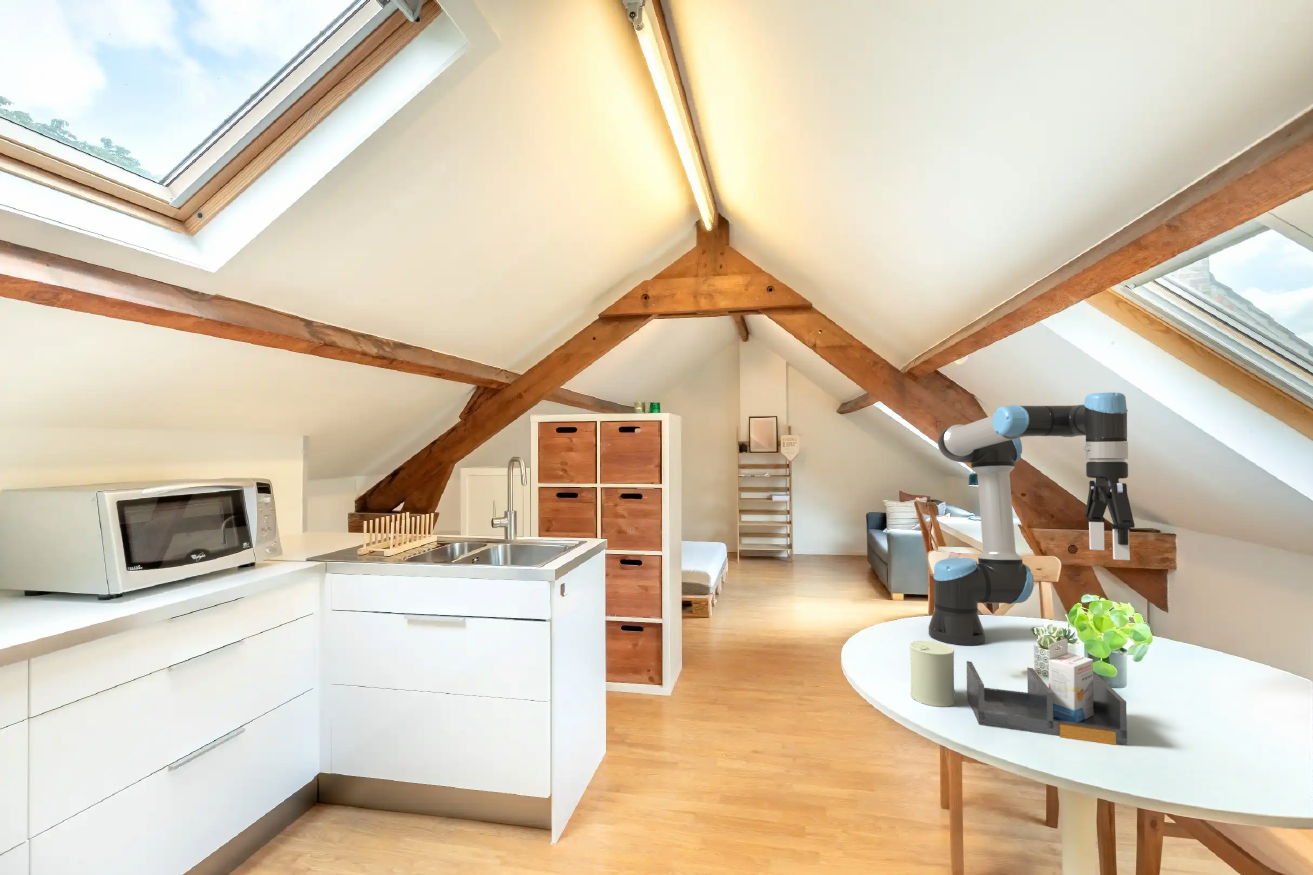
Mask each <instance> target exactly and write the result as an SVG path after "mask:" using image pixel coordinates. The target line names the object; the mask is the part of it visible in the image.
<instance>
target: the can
mask: <svg viewBox="0 0 1313 875" xmlns="http://www.w3.org/2000/svg"><path fill="white" fill-rule="evenodd" d="M909 646H910V647H909V648H910V693H909V694H910V697H911V698H912V699H913V700H914V699H915V700H914V701H915V702H918V703H920V702H921V703H920V704H923V705H926V706H930V707H931V706H932V707H937V708H938V707H939V708H945V707H951V706H953V705H955V703H956V698H955V669H954V668H955V665H954V664H955V649H954V648H953V647H952V646H950V645H948V644H945V643H942V642H937V641H930V640H916V641H912V642H911V643H910V644H909Z"/></svg>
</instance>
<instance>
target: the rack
mask: <svg viewBox="0 0 1313 875" xmlns="http://www.w3.org/2000/svg"><path fill="white" fill-rule="evenodd" d="M1026 668H1027V673H1026V674H1027V679H1026V680H1027V692H1026V691H1025V692H1024V691H1017V690H1016V691H1015V690H1008V689H1001V688H1000V689H999V688H992V687H985V684H984V682H983V680H982V678H981V677H980V674H979V673H978V671H977V670H976V669H977V668H976V667H975V665H974V663H973V662H972V661H969V660H966V698H967V700H968V702H969V706H971V710H972V712H973V714H974V717H975V719H976V720H977V723H978V725H980V726H986V727H993V728H1000V729H1007V730H1016V731H1022V732H1023V731H1024V732H1030V733H1035V734H1037V733H1038V734H1043V735H1044V734H1045V735H1051V736H1059V737H1060V738H1065V739H1071V740H1078V741H1083V742H1084V741H1085V742H1093V743H1098V744H1099V743H1100V744H1106V745H1112V746H1113V745H1115V746H1116V745H1123V746H1128V725H1127V723H1128V721H1127V700H1125V699H1124V698H1123V697H1122V696H1121V695H1120V694H1119V693H1118V692H1117V691H1116V690H1114V689H1113V688H1112V687H1111V686H1110V685H1109V684H1108V683H1107V682H1106V681H1105V680H1103V679H1102V677H1100V676H1099V674H1093V710H1094V715H1093V716H1091V717H1089V718H1087V719H1085V720H1083V721H1081V722H1071V721H1064V720H1060V719H1057V718H1055V717H1053V693H1052V692H1051V690H1050V689H1049V686H1048V685H1047V684H1046V683H1045V681H1044V680H1043V679H1042V678H1041V677H1040V676H1039V674H1038V673H1037V672H1036V670H1034V668H1033V667H1026Z"/></svg>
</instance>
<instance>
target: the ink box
mask: <svg viewBox="0 0 1313 875" xmlns="http://www.w3.org/2000/svg"><path fill="white" fill-rule="evenodd" d="M1068 640H1069V639H1068V638H1064V639H1061V640H1057V641H1055V642H1052V643H1050V644H1049V646H1048V688H1049V689H1050V690H1051V692H1052V693H1053V717H1055V718H1057V719H1060V720H1064V721H1071V722H1081V721H1083V720H1085V719H1087V718H1089V717H1091V716H1093V715H1094V710H1093V675H1094V659H1093V658H1089V657H1086V656H1085V657H1084V656H1081V655H1077V654H1074V653H1070V652H1068V651H1069V649H1068V647H1069V646H1068V645H1069V644H1068V643H1069V641H1068ZM1058 647H1060V649H1057V648H1058ZM1056 649H1057V650H1056Z"/></svg>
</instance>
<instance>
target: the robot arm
mask: <svg viewBox="0 0 1313 875" xmlns="http://www.w3.org/2000/svg"><path fill="white" fill-rule="evenodd" d="M1126 399H1127V398H1126V396H1125V394H1124V393H1122V392H1096V393H1089V394H1086V396H1085V397H1084V403H1083V404H1076V405H1075V404H1074V405H1018V404H1017V405H1016V404H1011V405H1003V406H1000V407H998V408H997V409H996V411H994V413H993V415H991V416H990V415H989V416H987V417H985V418H982V419H978V420H975V421H973V422H970V423H967V424H953V425H951V426H949V427H947V428H945V429H943V431H941V433H940V434H939V436H938V439H937V446H938V448H939V451H940V453H941V454H942V455H943V456H944V457H945V458H946V459H948V460H950V461H954V462H957V463H966V464H967V463H970V464H971V470H972V471H973V472H975V474H976V475H977V486H978V501H979V513H980V526H981V539H982V542H981V543H982V552H981V553H980V554H979V555H978V557H977V560H976V559H973V558H971V557H970V558H969V557H952V558H951V557H950V558H944V559H941V560H939V561H937V562H936V563H935V564H934V569H933V570H934V571H933V585H934V586H933V588H934V589H933V590H934V592H933V594H934V595H933V596H934V597H933V598H934V610H933V613H932V616H931V618H930V621H929V624H928V635H929V636H930V638H932V639H934V640H937V641H940V642H943V643H948V644H953V645H960V646H979V645H983V644H985V642H986V633H985V631H984V628H983V624H982V622H981V619H980V617H979V614H978V612H979V611H978V609H979V608H978V607H979V606H978V605H979V604H1007V605H1012V604H1022V603H1025V602H1026V601H1027V600H1028V599H1029V597H1030V598H1031V595H1032V593H1033V591H1034V585H1035V582H1034V575H1033V572H1031V571H1032V570H1031V568H1030V566H1028V565H1027V564H1025V563H1023V557H1022V556H1021V555H1019V554H1018V553H1017V551H1016V541H1015V539H1016V538H1015V527H1014V514H1013V504H1012V500H1013V499H1012V491H1011V490H1012V489H1011V477H1010V473H1011V472H1012V471H1013V470H1014V469H1015V468H1016V467H1015V463H1017V462H1018V461H1020V459H1021V457H1022V453H1023V445H1022V440H1021V438H1023V437H1063V438H1068V437H1069V438H1074V437H1078V436H1079V437H1083V436H1085V446H1083V450H1084V451H1086V452H1085V456H1086V460H1089V461H1087V462H1086V463H1085V470H1086V471H1085V473H1086V477H1087V478H1089V479H1091V478H1092V479H1095V480H1089V482H1088V484H1089V488H1088V494H1087V495H1088V496H1087V501H1086V507H1085V511H1084V517H1085V519H1087V522H1088V528H1089V529H1088V532H1089V533H1088V534H1089V535H1088V536H1089V538H1088V539H1089V540H1088V542H1089V550H1091V551H1105V522H1106V520H1105V517H1104V516H1105V512H1106V510H1107V509H1108V512H1109V514H1110V518H1111V521H1112V523H1113V524H1112V525H1111V527H1110V529H1111V530H1112V560H1115V561H1116V560H1120V561H1131V557H1130V556H1131V554H1130V552H1131V550H1130V547H1131V546H1130V544H1131V543H1130V530H1131V528H1135V521H1134V517H1133V513H1132V508H1131V504H1130V500H1129V495H1128V485H1127V482H1123V483H1122V482H1120V481H1119V480H1120V479H1127V478H1128V477H1129V463H1127V462H1126V460H1128V459H1129V442H1128V409H1127V400H1126Z"/></svg>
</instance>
